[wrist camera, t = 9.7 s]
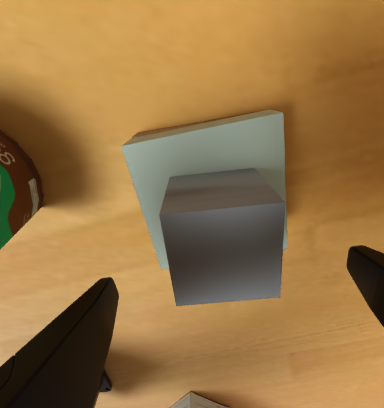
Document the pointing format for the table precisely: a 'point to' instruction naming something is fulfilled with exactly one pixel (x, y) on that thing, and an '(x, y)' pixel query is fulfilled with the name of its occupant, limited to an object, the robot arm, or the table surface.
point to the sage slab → (205, 160)
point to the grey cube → (223, 237)
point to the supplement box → (196, 402)
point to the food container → (16, 188)
